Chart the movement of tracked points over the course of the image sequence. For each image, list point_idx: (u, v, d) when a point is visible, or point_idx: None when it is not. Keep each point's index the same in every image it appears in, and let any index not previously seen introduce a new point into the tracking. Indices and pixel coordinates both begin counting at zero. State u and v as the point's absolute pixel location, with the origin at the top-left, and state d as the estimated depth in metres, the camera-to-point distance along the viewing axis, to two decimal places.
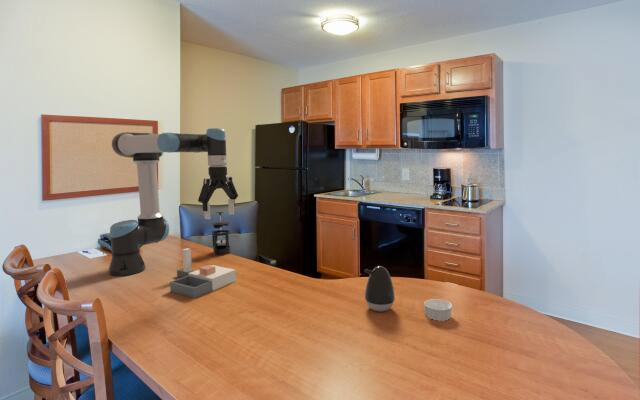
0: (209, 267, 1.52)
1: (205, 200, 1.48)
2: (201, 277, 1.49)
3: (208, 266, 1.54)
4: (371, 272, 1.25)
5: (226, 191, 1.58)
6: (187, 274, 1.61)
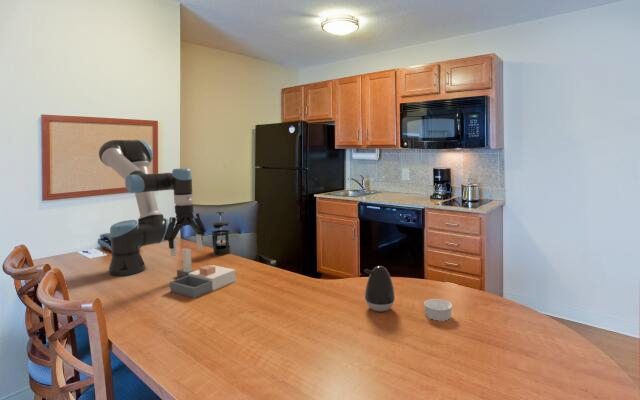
0: (209, 267, 1.52)
1: (171, 238, 1.53)
2: (201, 277, 1.49)
3: (208, 266, 1.54)
4: (371, 272, 1.25)
5: (193, 227, 1.64)
6: (187, 274, 1.61)
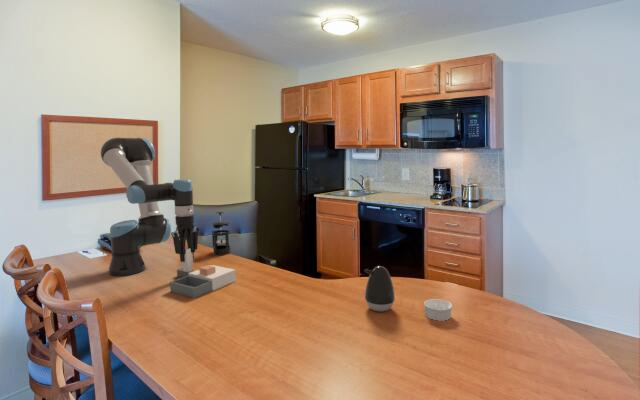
0: (209, 267, 1.52)
1: None
2: (201, 277, 1.49)
3: (208, 266, 1.54)
4: (371, 272, 1.25)
5: (188, 241, 1.62)
6: (187, 274, 1.61)
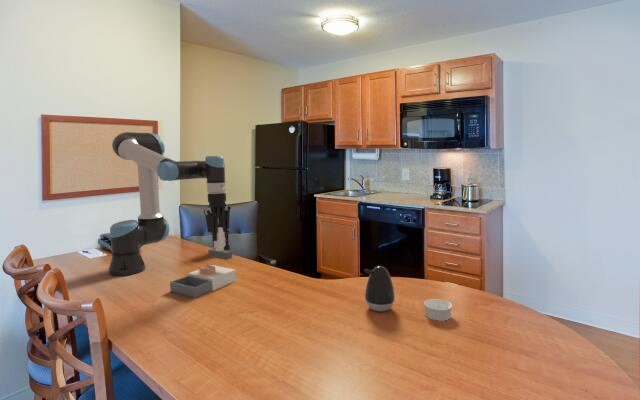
0: (209, 267, 1.52)
1: (214, 231, 1.54)
2: (201, 277, 1.49)
3: (208, 266, 1.54)
4: (371, 272, 1.25)
5: (220, 220, 1.57)
6: (219, 253, 1.56)
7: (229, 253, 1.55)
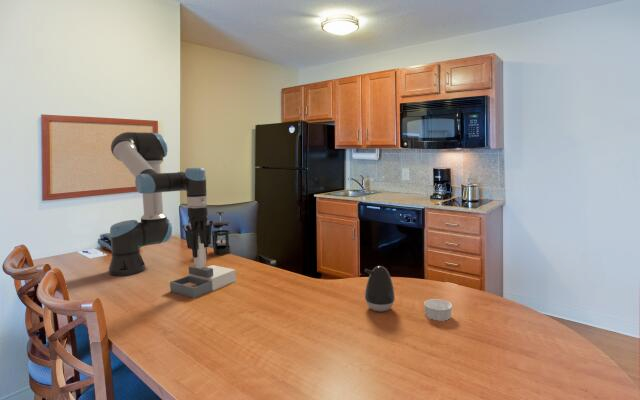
0: None
1: (194, 247, 1.45)
2: (201, 277, 1.49)
3: None
4: (371, 272, 1.25)
5: (201, 235, 1.49)
6: (200, 271, 1.48)
7: (210, 271, 1.47)
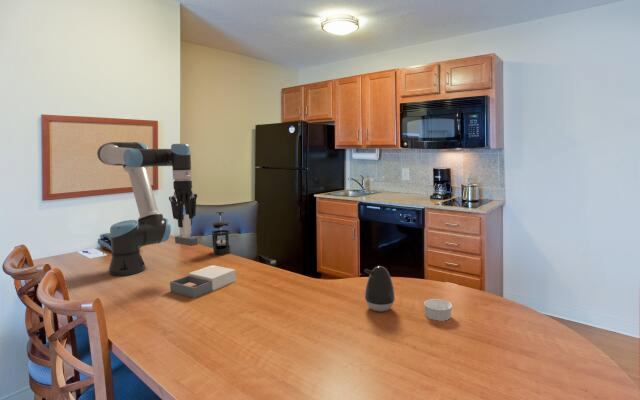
0: None
1: None
2: (201, 277, 1.49)
3: None
4: (371, 272, 1.25)
5: (186, 207, 1.60)
6: (185, 240, 1.59)
7: (194, 239, 1.58)
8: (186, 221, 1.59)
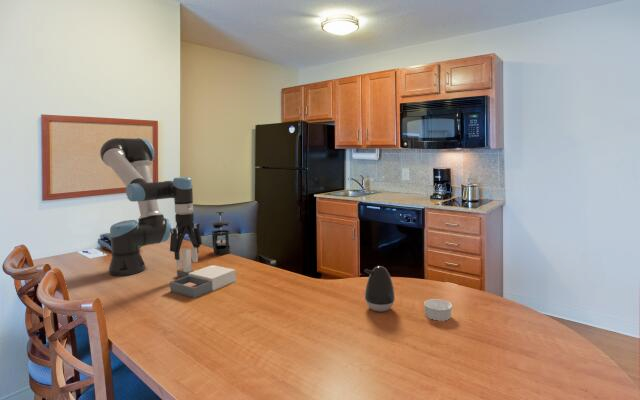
0: None
1: (176, 250, 1.56)
2: (201, 277, 1.49)
3: None
4: (371, 272, 1.25)
5: (191, 238, 1.63)
6: (187, 274, 1.61)
7: None
8: (188, 255, 1.61)
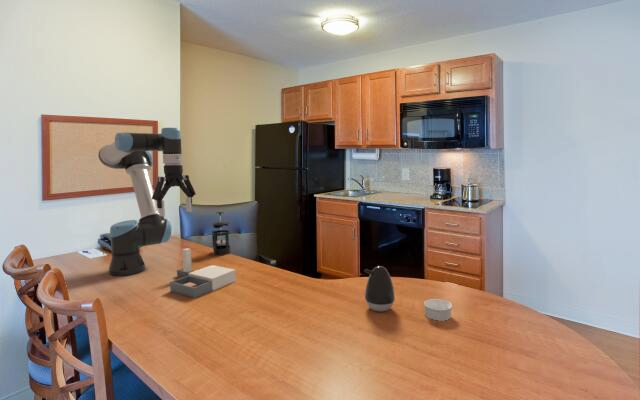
0: None
1: (159, 197, 1.51)
2: (201, 277, 1.49)
3: None
4: (371, 272, 1.25)
5: (183, 189, 1.62)
6: (187, 274, 1.61)
7: None
8: (188, 255, 1.61)
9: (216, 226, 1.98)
